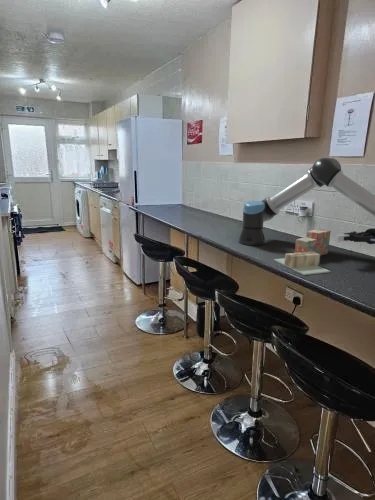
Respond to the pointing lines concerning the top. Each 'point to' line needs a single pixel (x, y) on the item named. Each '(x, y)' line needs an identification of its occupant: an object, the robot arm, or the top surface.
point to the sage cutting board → (305, 268)
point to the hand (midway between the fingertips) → (336, 238)
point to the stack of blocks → (314, 242)
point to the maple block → (302, 259)
